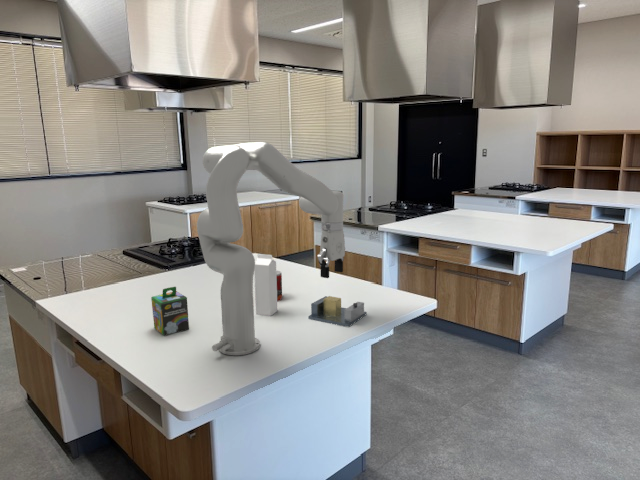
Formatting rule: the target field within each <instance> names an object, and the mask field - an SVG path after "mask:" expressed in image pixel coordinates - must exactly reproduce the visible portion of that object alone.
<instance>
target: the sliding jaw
mask: <svg viewBox="0 0 640 480" xmlns="http://www.w3.org/2000/svg"><path fill="white" fill-rule="evenodd" d="M364 312H365V302H362V301H357V302H356V301H355V302H353V304H352V305H350V306H348V307H347V309H345V321H348V322H352V321H353V320H355V319H356V318H358V317H359V316H361V315H362V314H364Z"/></svg>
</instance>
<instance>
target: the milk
mask: <svg viewBox="0 0 640 480" xmlns="http://www.w3.org/2000/svg"><path fill="white" fill-rule="evenodd" d="M276 270H277V261H276V260H274V259H273V254H264V253H258V254H257V258H256V259H255V269H254V276H253V277H254V297H255V298H254V300H255V314H256V315H260V316H268V317H269V316H270V317H272V315H274V314H276V313H277V312H278V301H277V277H276Z"/></svg>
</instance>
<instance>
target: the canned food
mask: <svg viewBox="0 0 640 480" xmlns="http://www.w3.org/2000/svg"><path fill="white" fill-rule="evenodd" d="M276 277H277V302H279V301H281V300H282V298H283V279H282V278H283V275H282V271H280V270H277V269H276Z"/></svg>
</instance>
